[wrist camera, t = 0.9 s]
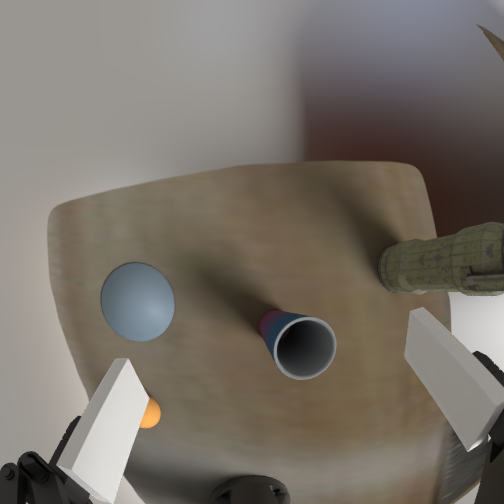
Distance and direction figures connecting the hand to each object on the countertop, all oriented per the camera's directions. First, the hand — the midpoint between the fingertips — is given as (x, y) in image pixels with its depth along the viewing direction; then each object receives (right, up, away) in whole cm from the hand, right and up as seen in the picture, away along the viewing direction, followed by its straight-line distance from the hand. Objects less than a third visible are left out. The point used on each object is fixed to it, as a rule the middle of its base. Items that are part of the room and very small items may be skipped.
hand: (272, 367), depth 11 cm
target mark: (-18, -3, +28) cm, 33 cm away
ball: (-17, -19, +23) cm, 35 cm away
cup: (+3, -6, +30) cm, 31 cm away
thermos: (+25, +2, +34) cm, 42 cm away
